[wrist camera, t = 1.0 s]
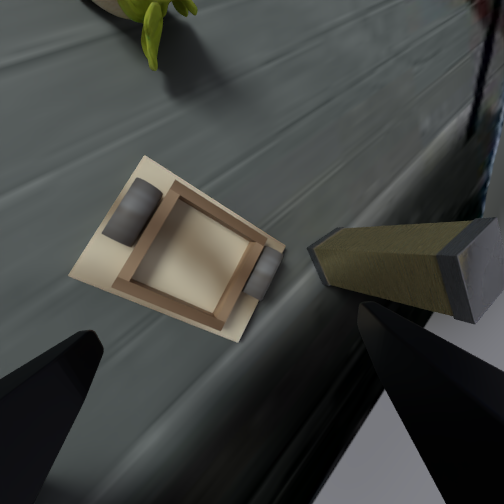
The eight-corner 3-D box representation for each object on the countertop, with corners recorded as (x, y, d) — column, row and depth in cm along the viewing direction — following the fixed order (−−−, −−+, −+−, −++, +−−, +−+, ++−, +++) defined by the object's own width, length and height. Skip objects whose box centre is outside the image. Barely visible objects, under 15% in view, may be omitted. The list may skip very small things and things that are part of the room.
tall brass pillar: (322, 284, 25) (475, 324, 13) (306, 248, 24) (456, 255, 12) (350, 262, 27) (510, 281, 15) (336, 227, 26) (496, 217, 14)
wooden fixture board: (235, 339, 21) (246, 352, 19) (71, 274, 16) (56, 280, 14) (281, 245, 23) (297, 246, 20) (144, 158, 18) (143, 144, 15)
